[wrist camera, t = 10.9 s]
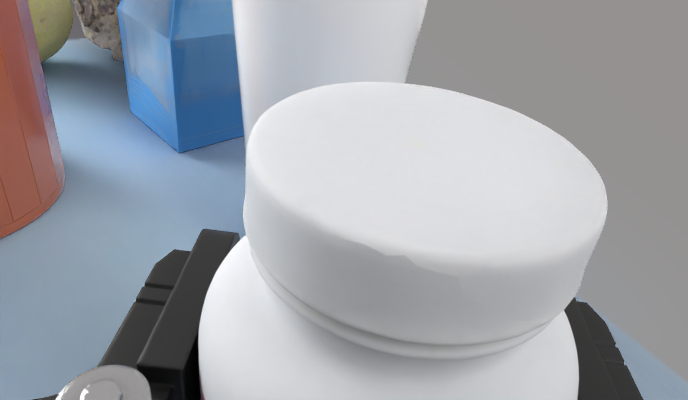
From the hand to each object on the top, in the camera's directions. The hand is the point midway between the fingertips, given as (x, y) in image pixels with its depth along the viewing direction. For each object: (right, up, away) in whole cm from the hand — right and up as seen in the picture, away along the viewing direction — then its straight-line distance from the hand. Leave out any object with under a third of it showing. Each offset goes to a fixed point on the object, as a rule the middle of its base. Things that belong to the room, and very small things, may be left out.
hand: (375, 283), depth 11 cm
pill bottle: (-1, -7, +2) cm, 7 cm away
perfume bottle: (-10, +7, +21) cm, 24 cm away
